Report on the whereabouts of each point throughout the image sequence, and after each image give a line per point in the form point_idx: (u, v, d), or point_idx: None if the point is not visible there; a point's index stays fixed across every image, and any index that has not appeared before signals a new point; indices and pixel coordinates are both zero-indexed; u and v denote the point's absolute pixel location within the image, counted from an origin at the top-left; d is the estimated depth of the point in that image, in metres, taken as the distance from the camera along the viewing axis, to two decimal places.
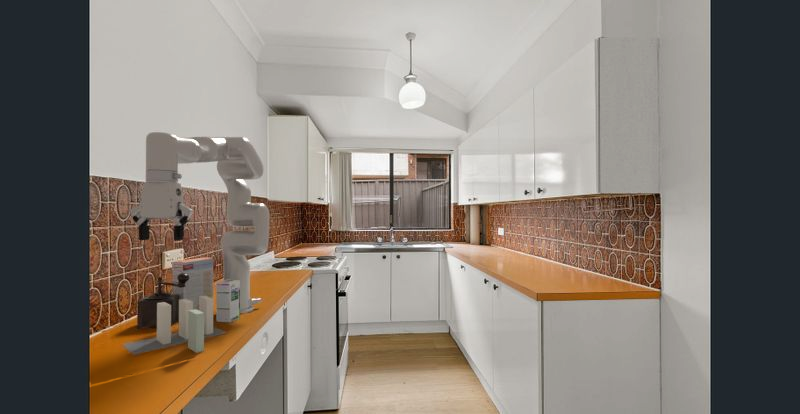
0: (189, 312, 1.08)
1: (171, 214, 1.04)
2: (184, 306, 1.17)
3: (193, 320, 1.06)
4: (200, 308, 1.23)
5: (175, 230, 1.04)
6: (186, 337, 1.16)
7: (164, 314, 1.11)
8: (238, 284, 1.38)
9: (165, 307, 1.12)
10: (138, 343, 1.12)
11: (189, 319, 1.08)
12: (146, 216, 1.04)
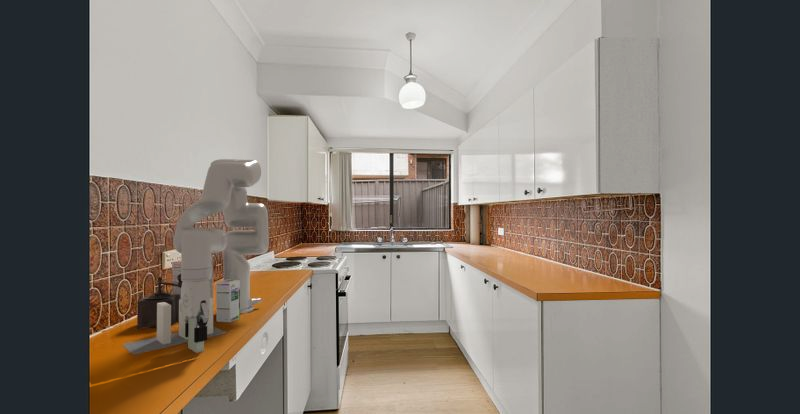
0: None
1: None
2: None
3: (193, 320, 1.06)
4: None
5: None
6: (186, 337, 1.16)
7: (164, 314, 1.11)
8: (238, 284, 1.38)
9: (165, 307, 1.12)
10: (138, 343, 1.12)
11: (189, 319, 1.08)
12: None
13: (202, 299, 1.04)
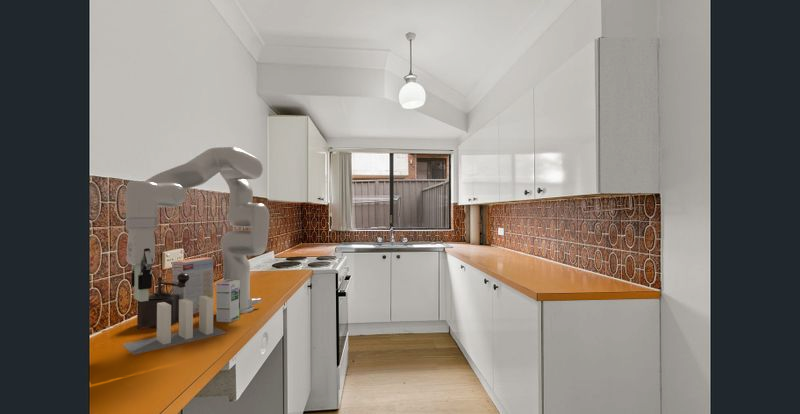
0: None
1: None
2: (184, 306, 1.17)
3: (138, 268, 1.08)
4: (200, 308, 1.23)
5: None
6: (186, 337, 1.16)
7: (164, 314, 1.11)
8: (238, 284, 1.38)
9: (165, 307, 1.12)
10: (138, 343, 1.12)
11: (135, 268, 1.10)
12: None
13: (146, 247, 1.06)
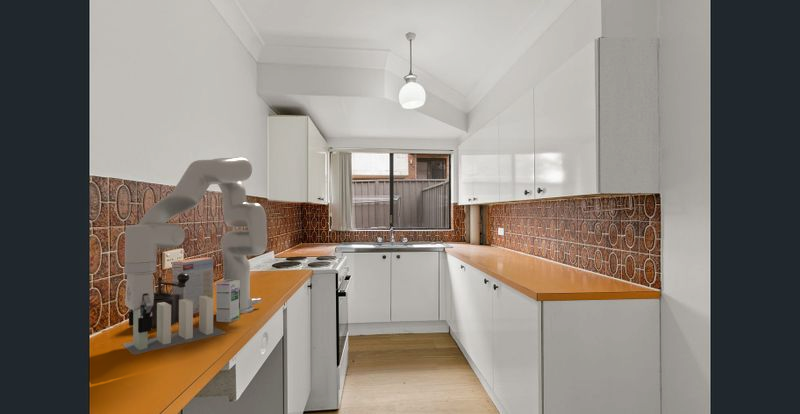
0: None
1: None
2: (184, 306, 1.17)
3: (137, 316, 1.08)
4: (200, 308, 1.23)
5: None
6: (186, 337, 1.16)
7: (164, 314, 1.11)
8: (238, 284, 1.38)
9: (165, 307, 1.12)
10: None
11: (134, 315, 1.10)
12: None
13: (145, 292, 1.06)
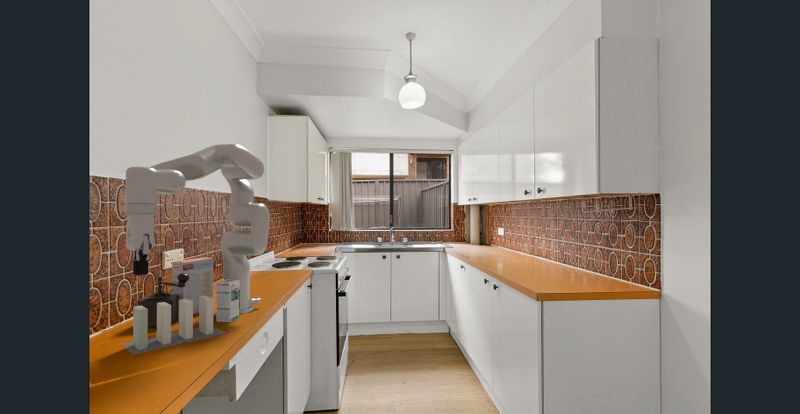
0: (134, 308, 1.10)
1: None
2: (184, 306, 1.17)
3: (137, 316, 1.08)
4: (200, 308, 1.23)
5: None
6: (186, 337, 1.16)
7: (164, 314, 1.11)
8: (238, 284, 1.38)
9: (165, 307, 1.12)
10: None
11: (134, 315, 1.10)
12: None
13: (145, 232, 1.06)
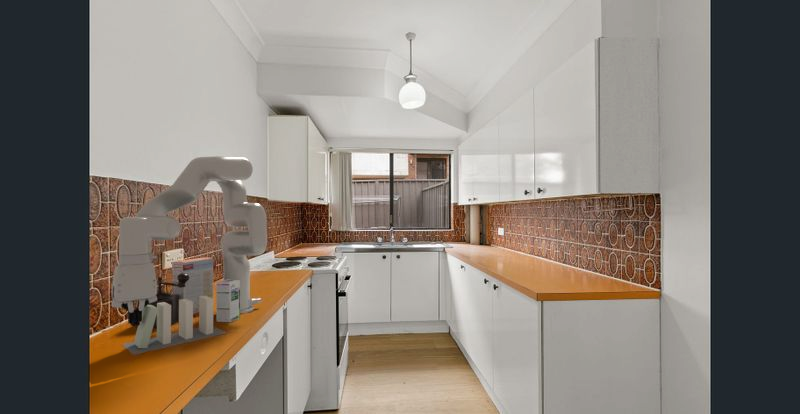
0: None
1: (153, 294, 1.10)
2: (184, 306, 1.17)
3: (146, 314, 1.10)
4: (200, 308, 1.23)
5: (139, 316, 1.08)
6: (186, 337, 1.16)
7: (164, 314, 1.11)
8: (238, 284, 1.38)
9: (165, 307, 1.12)
10: None
11: (142, 313, 1.12)
12: (124, 300, 1.05)
13: (113, 284, 1.05)
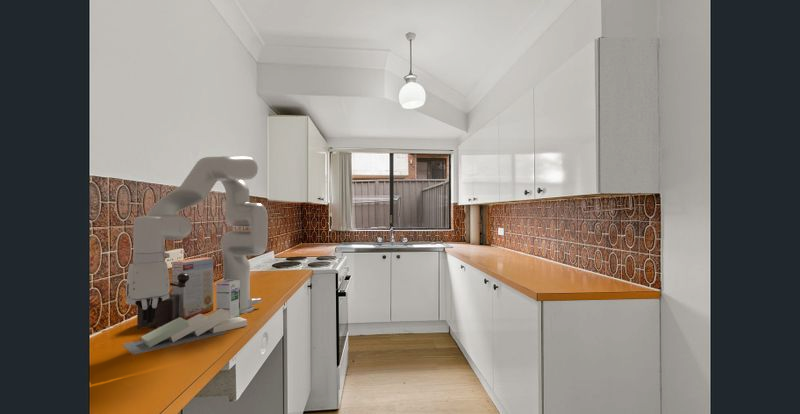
0: (179, 318, 1.19)
1: (166, 292, 1.13)
2: (223, 312, 1.25)
3: (177, 323, 1.16)
4: (230, 319, 1.30)
5: (152, 313, 1.11)
6: (196, 330, 1.18)
7: (200, 321, 1.19)
8: (238, 284, 1.38)
9: (206, 318, 1.20)
10: (138, 343, 1.12)
11: (172, 321, 1.18)
12: (139, 297, 1.08)
13: (127, 282, 1.08)
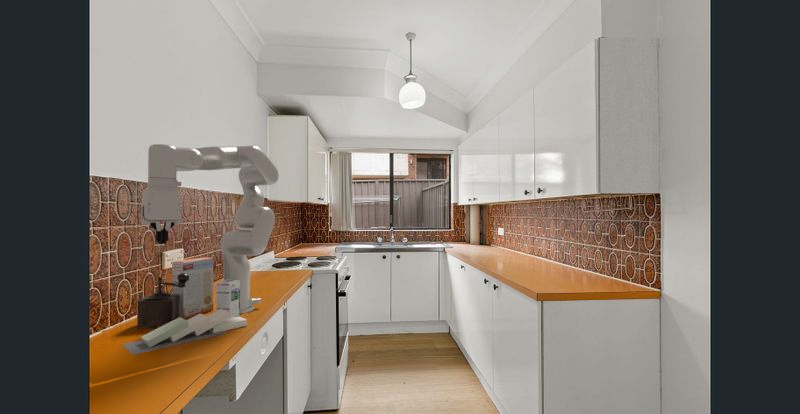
0: (179, 318, 1.19)
1: (178, 216, 1.21)
2: (223, 312, 1.25)
3: (177, 323, 1.16)
4: (230, 319, 1.30)
5: (165, 235, 1.19)
6: (196, 330, 1.18)
7: (200, 321, 1.19)
8: (238, 284, 1.38)
9: (207, 318, 1.20)
10: (138, 343, 1.12)
11: (172, 321, 1.18)
12: (153, 218, 1.16)
13: (143, 204, 1.16)
